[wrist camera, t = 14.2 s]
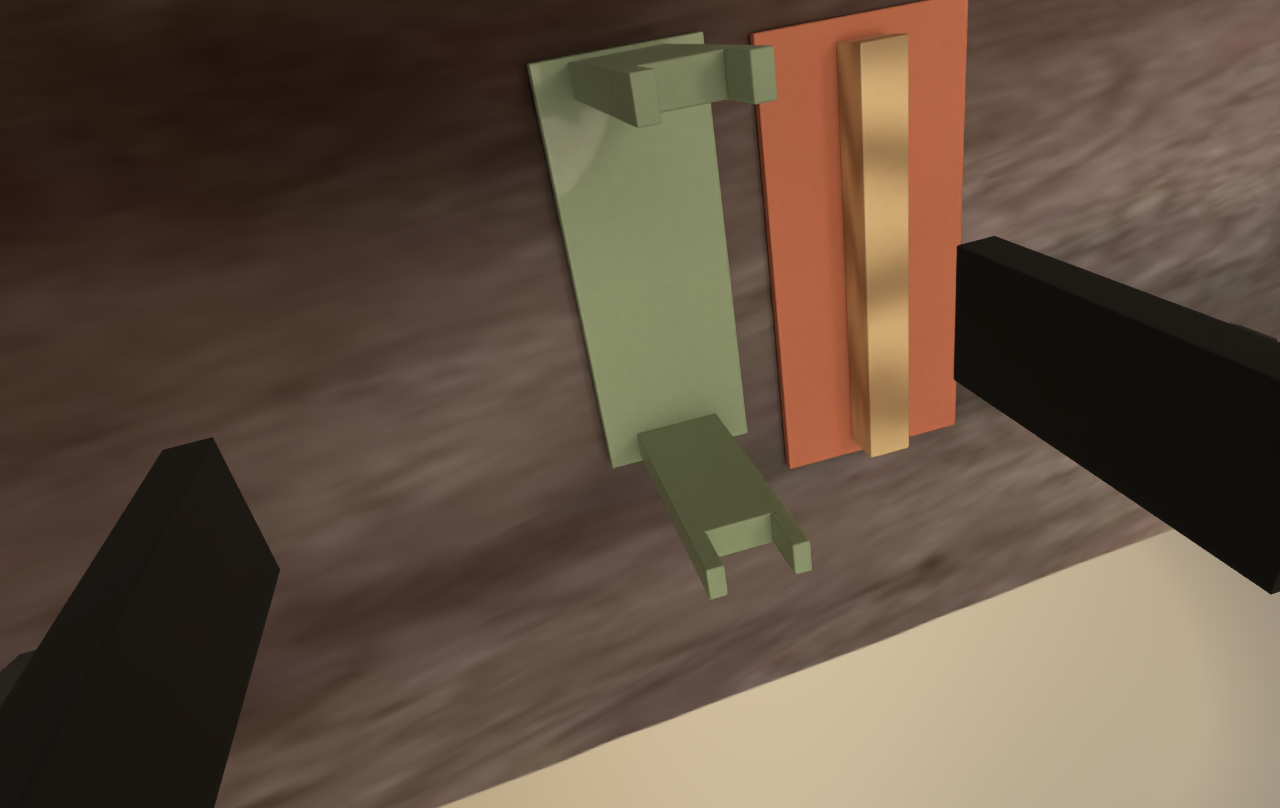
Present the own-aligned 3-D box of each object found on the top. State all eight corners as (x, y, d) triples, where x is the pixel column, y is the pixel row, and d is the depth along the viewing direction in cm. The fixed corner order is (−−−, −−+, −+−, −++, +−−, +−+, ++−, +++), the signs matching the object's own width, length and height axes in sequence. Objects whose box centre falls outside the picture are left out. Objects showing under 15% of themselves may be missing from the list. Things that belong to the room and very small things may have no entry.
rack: (526, 63, 34) (571, 76, 23) (696, 31, 36) (825, 27, 24) (609, 460, 44) (672, 615, 32) (741, 425, 45) (849, 563, 33)
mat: (748, 33, 36) (753, 33, 36) (961, -7, 38) (968, -8, 37) (786, 464, 47) (789, 469, 47) (949, 420, 49) (955, 424, 48)
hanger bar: (835, 42, 37) (860, 42, 34) (882, 33, 37) (909, 33, 35) (851, 439, 47) (871, 458, 44) (888, 429, 47) (909, 447, 45)
